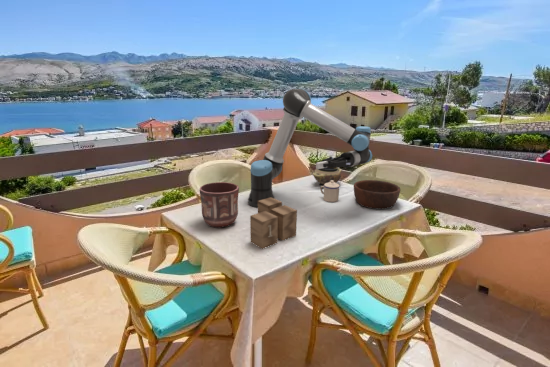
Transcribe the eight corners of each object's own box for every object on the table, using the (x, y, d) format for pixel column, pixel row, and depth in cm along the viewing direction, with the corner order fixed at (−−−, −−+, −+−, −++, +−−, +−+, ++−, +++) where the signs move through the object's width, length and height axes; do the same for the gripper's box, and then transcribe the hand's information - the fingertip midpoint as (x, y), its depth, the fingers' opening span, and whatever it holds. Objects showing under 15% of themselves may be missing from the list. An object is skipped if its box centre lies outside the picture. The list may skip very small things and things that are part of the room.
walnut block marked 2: (268, 230, 144) (268, 205, 141) (257, 224, 150) (257, 200, 147) (281, 225, 149) (282, 201, 146) (270, 220, 155) (270, 197, 152)
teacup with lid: (341, 199, 184) (343, 180, 181) (333, 203, 178) (334, 184, 174) (324, 195, 192) (325, 176, 189) (315, 198, 185) (316, 179, 182)
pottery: (217, 234, 139) (215, 196, 134) (194, 223, 151) (192, 187, 146) (246, 222, 152) (246, 187, 147) (223, 213, 163) (222, 179, 158)
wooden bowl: (405, 202, 181) (407, 185, 178) (387, 215, 163) (389, 196, 160) (364, 193, 197) (366, 177, 194) (344, 203, 179) (345, 186, 176)
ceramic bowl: (318, 195, 200) (323, 174, 193) (302, 181, 212) (306, 161, 205) (346, 189, 213) (352, 169, 206) (329, 176, 225) (334, 157, 218)
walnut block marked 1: (262, 249, 127) (262, 222, 124) (250, 241, 133) (250, 215, 130) (277, 243, 132) (278, 216, 129) (265, 236, 138) (265, 211, 135)
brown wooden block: (282, 240, 135) (283, 214, 131) (270, 234, 140) (270, 209, 137) (296, 235, 140) (296, 210, 136) (283, 229, 145) (284, 205, 142)
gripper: (359, 169, 156) (327, 176, 142) (338, 164, 166) (306, 170, 152) (360, 154, 154) (328, 160, 140) (339, 149, 164) (307, 155, 149)
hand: (317, 166), depth 146 cm, fingers closed
